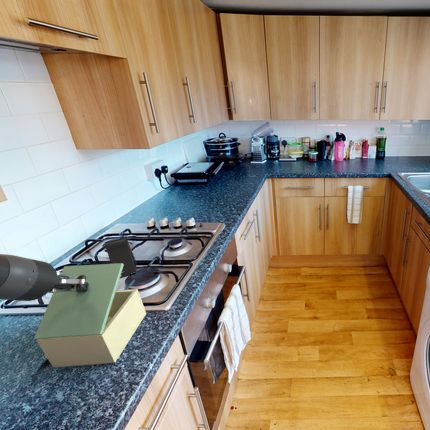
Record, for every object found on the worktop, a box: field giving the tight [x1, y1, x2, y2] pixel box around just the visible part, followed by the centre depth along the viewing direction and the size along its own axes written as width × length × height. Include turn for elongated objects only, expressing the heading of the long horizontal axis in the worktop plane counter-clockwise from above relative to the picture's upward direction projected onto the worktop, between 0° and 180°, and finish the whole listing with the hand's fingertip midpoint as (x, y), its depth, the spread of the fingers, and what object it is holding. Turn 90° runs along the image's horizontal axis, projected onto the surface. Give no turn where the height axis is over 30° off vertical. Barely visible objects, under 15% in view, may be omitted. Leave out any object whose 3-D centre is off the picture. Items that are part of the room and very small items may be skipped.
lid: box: [34, 263, 124, 340], centre depth 67 cm, size 16×14×1 cm
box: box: [36, 288, 147, 369], centre depth 71 cm, size 16×14×9 cm
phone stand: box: [104, 236, 137, 279], centre depth 97 cm, size 9×6×12 cm, turn 31°
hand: (84, 287), depth 67 cm, fingers closed
